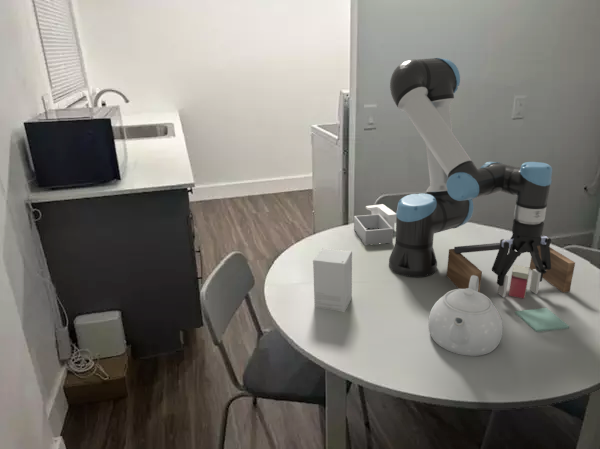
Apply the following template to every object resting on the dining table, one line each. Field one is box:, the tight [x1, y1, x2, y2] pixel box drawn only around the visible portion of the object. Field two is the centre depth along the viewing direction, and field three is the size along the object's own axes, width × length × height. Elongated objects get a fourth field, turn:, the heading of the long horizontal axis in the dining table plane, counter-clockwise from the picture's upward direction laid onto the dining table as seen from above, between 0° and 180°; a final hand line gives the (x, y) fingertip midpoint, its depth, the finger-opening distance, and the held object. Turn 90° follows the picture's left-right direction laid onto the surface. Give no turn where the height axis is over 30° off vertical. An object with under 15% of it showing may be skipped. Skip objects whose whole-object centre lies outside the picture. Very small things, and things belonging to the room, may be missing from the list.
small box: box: [508, 264, 530, 299], centre depth 133 cm, size 5×4×8 cm
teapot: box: [427, 275, 504, 357], centre depth 113 cm, size 19×18×14 cm
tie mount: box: [446, 246, 576, 293], centre depth 138 cm, size 30×16×9 cm, turn 99°
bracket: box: [365, 203, 397, 231], centre depth 186 cm, size 13×7×8 cm
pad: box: [514, 307, 570, 332], centre depth 121 cm, size 9×9×1 cm
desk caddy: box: [353, 214, 394, 246], centre depth 176 cm, size 10×16×6 cm, turn 9°
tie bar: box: [453, 235, 543, 254], centre depth 141 cm, size 29×2×2 cm, turn 99°
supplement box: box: [312, 247, 353, 313], centre depth 130 cm, size 9×9×15 cm
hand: (517, 293), depth 134 cm, fingers open, 9 cm apart
